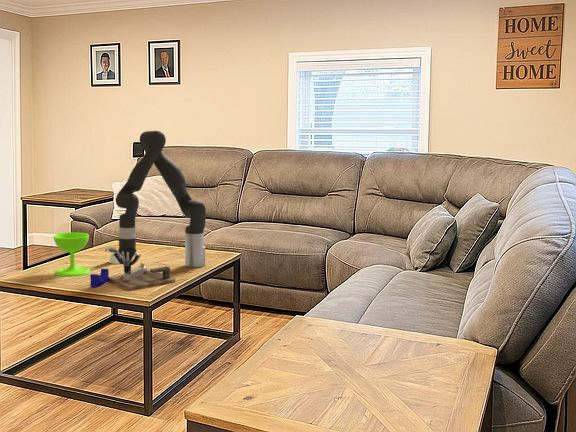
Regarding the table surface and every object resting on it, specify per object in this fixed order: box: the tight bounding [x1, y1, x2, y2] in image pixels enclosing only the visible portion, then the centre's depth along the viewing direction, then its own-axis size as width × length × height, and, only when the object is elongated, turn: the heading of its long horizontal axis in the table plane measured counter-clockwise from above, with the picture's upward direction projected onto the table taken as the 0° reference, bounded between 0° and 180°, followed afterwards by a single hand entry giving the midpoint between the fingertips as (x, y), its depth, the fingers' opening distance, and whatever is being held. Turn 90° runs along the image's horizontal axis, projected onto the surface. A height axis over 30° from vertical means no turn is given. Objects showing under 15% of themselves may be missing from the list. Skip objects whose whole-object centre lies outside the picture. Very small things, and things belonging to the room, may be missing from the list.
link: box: [122, 261, 148, 281], centre depth 289 cm, size 18×4×5 cm, turn 166°
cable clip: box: [90, 268, 110, 289], centre depth 280 cm, size 12×4×6 cm, turn 172°
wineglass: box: [53, 232, 91, 278], centre depth 299 cm, size 16×16×18 cm
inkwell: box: [104, 245, 122, 265], centre depth 318 cm, size 9×18×10 cm, turn 171°
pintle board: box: [108, 266, 176, 291], centre depth 286 cm, size 23×21×6 cm
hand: (127, 273), depth 288 cm, fingers closed
